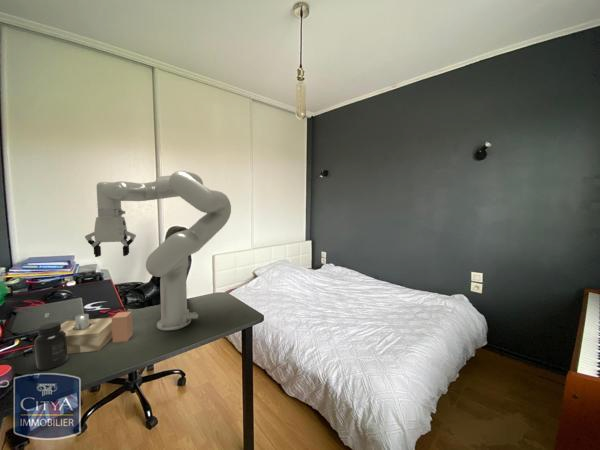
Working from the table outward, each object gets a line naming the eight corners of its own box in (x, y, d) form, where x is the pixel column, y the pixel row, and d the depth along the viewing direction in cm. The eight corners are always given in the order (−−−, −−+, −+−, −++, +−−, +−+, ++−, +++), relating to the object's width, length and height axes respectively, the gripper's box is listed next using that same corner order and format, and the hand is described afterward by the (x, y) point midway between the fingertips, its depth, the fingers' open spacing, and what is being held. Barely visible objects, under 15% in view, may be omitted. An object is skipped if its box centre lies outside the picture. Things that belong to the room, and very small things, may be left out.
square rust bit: (132, 334, 94) (131, 311, 93) (127, 341, 90) (126, 316, 89) (119, 336, 93) (117, 312, 92) (112, 342, 89) (111, 317, 88)
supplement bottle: (68, 354, 81) (66, 318, 81) (67, 364, 76) (65, 326, 75) (37, 362, 77) (35, 324, 76) (34, 374, 72) (31, 333, 71)
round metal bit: (92, 340, 90) (90, 313, 89) (86, 345, 86) (84, 317, 86) (80, 341, 89) (79, 313, 88) (74, 346, 86) (72, 318, 85)
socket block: (117, 332, 95) (116, 317, 95) (99, 350, 84) (98, 333, 83) (67, 336, 92) (66, 320, 91) (41, 356, 80) (40, 338, 80)
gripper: (137, 213, 106) (139, 253, 108) (89, 213, 102) (92, 255, 103) (130, 213, 99) (132, 256, 100) (78, 213, 95) (81, 258, 96)
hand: (112, 255), depth 102 cm, fingers open, 9 cm apart
